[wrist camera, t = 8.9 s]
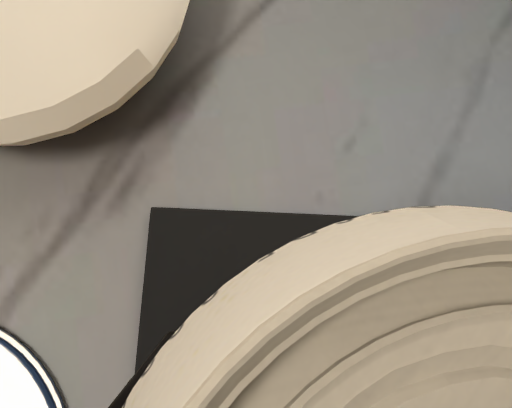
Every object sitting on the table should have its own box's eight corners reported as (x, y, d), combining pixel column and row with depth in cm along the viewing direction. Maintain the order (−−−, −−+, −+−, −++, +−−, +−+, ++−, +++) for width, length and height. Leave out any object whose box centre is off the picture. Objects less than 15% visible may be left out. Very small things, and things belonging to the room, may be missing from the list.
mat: (446, 539, 16) (451, 544, 16) (122, 528, 16) (118, 533, 16) (430, 221, 19) (434, 219, 19) (152, 209, 19) (150, 207, 19)
